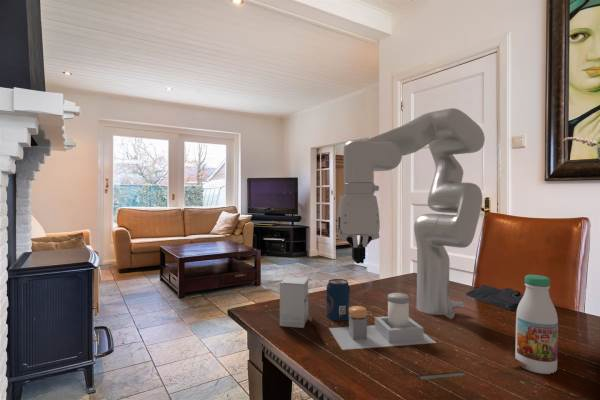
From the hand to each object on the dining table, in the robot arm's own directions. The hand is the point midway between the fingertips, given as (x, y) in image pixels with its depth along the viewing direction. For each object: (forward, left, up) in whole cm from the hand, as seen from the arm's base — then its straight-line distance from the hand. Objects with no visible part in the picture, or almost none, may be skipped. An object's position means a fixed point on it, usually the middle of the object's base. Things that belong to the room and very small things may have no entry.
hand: (358, 262), depth 89 cm
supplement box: (+14, -16, -21) cm, 30 cm away
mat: (-12, +14, -21) cm, 28 cm away
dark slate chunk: (-62, -25, -21) cm, 70 cm away
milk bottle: (-35, +18, -21) cm, 44 cm away
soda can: (+1, -15, -21) cm, 26 cm away
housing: (-6, 0, -21) cm, 21 cm away
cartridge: (-11, 0, -19) cm, 22 cm away
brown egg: (0, 0, -18) cm, 18 cm away
